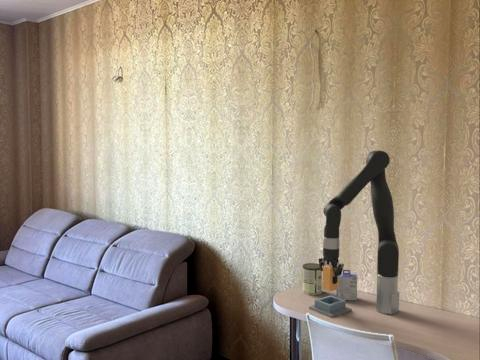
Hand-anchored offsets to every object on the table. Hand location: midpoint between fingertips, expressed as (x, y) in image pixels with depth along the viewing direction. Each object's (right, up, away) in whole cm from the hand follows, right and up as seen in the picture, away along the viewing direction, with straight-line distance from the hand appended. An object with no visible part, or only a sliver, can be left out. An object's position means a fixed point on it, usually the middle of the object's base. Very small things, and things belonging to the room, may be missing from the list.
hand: (330, 282), depth 215 cm
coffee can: (-4, -11, +27) cm, 29 cm away
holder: (0, -13, +1) cm, 13 cm away
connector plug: (0, -3, 0) cm, 3 cm away
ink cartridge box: (+11, -12, +16) cm, 23 cm away
